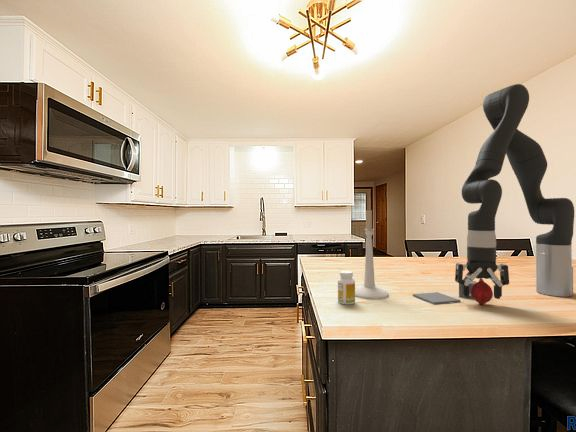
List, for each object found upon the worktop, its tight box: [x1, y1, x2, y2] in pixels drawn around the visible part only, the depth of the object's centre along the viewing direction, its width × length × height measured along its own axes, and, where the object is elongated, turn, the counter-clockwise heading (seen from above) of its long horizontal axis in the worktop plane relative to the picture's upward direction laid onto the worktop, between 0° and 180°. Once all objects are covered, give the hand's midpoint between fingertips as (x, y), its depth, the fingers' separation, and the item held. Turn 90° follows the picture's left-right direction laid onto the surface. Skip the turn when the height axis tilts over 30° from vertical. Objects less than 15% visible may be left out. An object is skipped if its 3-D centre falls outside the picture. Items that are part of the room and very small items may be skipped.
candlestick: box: [355, 209, 390, 300], centre depth 104 cm, size 13×13×30 cm
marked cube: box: [458, 280, 477, 300], centre depth 100 cm, size 5×5×5 cm
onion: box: [470, 278, 494, 306], centre depth 91 cm, size 6×6×8 cm
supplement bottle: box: [337, 270, 356, 305], centre depth 94 cm, size 5×5×10 cm
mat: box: [412, 291, 461, 305], centre depth 98 cm, size 10×10×1 cm
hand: (481, 297), depth 91 cm, fingers open, 8 cm apart
